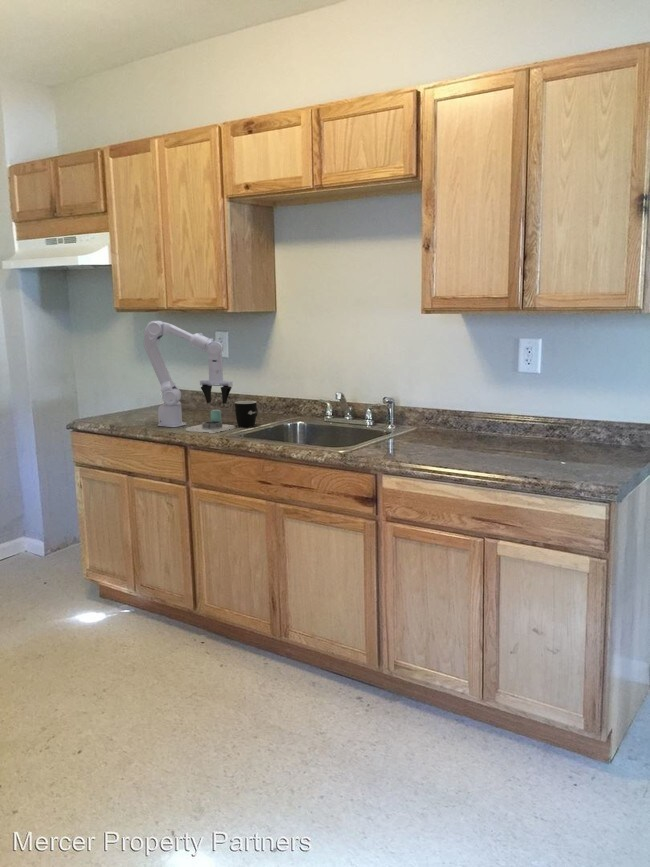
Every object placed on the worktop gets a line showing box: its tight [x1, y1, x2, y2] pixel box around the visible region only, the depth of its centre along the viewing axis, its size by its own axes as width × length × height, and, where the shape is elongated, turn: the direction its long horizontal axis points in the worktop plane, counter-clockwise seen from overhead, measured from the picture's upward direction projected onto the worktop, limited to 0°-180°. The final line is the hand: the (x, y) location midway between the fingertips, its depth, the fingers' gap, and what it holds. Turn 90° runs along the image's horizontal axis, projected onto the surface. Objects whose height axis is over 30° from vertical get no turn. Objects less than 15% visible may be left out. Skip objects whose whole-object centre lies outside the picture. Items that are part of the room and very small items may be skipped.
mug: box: [234, 400, 258, 428], centre depth 301 cm, size 12×9×10 cm
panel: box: [185, 420, 236, 434], centre depth 293 cm, size 14×14×3 cm
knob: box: [210, 409, 222, 422], centre depth 305 cm, size 4×4×6 cm
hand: (216, 403), depth 302 cm, fingers open, 7 cm apart
